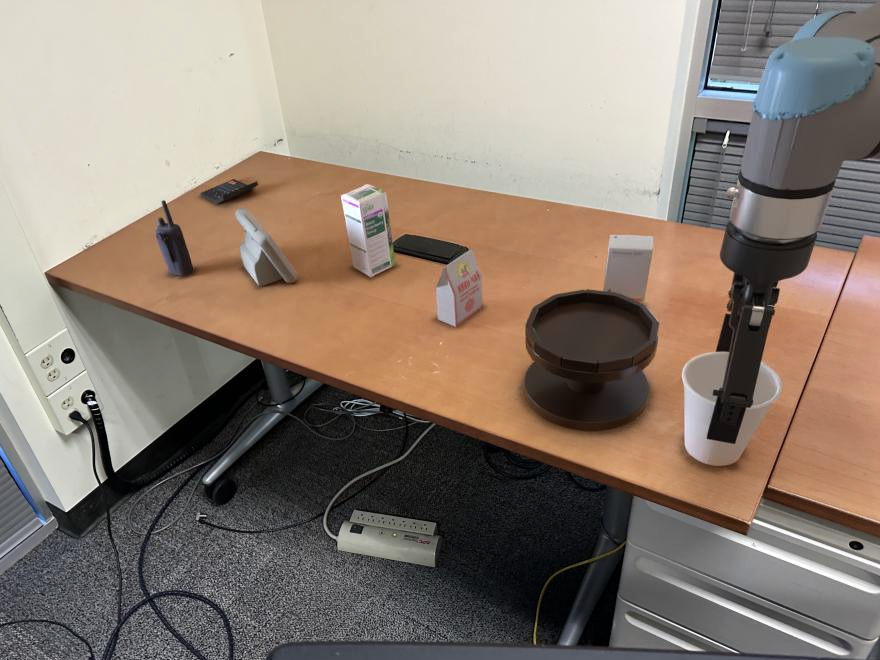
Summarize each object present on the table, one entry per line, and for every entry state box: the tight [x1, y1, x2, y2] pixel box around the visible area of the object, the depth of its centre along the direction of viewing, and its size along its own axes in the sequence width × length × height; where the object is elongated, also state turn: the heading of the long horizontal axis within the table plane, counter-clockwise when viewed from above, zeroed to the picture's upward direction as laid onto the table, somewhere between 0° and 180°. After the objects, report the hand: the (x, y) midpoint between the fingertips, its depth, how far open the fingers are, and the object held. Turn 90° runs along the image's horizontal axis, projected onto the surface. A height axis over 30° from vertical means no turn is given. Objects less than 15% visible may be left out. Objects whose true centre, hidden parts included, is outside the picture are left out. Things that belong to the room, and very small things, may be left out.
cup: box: [681, 351, 783, 467], centre depth 78 cm, size 10×10×11 cm
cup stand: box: [523, 288, 660, 432], centre depth 89 cm, size 16×16×11 cm
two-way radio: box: [154, 199, 195, 277], centre depth 128 cm, size 6×4×15 cm
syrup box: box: [340, 183, 396, 278], centre depth 121 cm, size 6×6×14 cm
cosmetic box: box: [602, 234, 655, 305], centre depth 102 cm, size 6×4×12 cm
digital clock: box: [234, 207, 298, 287], centre depth 126 cm, size 16×9×11 cm, turn 14°
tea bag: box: [435, 249, 483, 328], centre depth 107 cm, size 4×7×10 cm, turn 134°
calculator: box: [199, 178, 259, 205], centre depth 159 cm, size 9×12×3 cm
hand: (723, 398), depth 77 cm, fingers open, 13 cm apart
